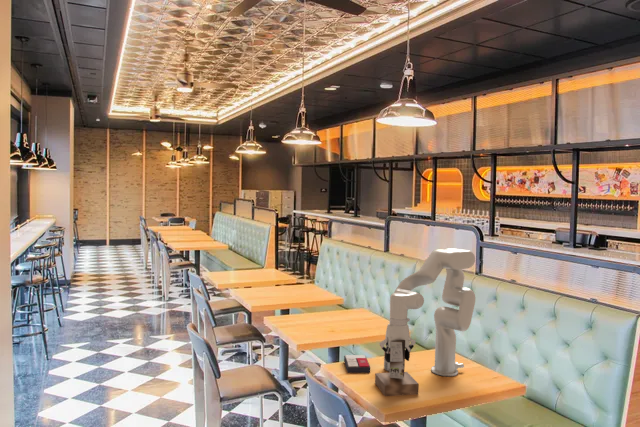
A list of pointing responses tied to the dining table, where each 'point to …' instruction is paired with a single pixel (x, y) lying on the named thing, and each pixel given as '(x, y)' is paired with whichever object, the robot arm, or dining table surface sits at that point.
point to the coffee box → (397, 359)
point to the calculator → (356, 364)
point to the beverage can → (386, 364)
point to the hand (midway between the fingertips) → (397, 360)
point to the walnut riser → (396, 384)
